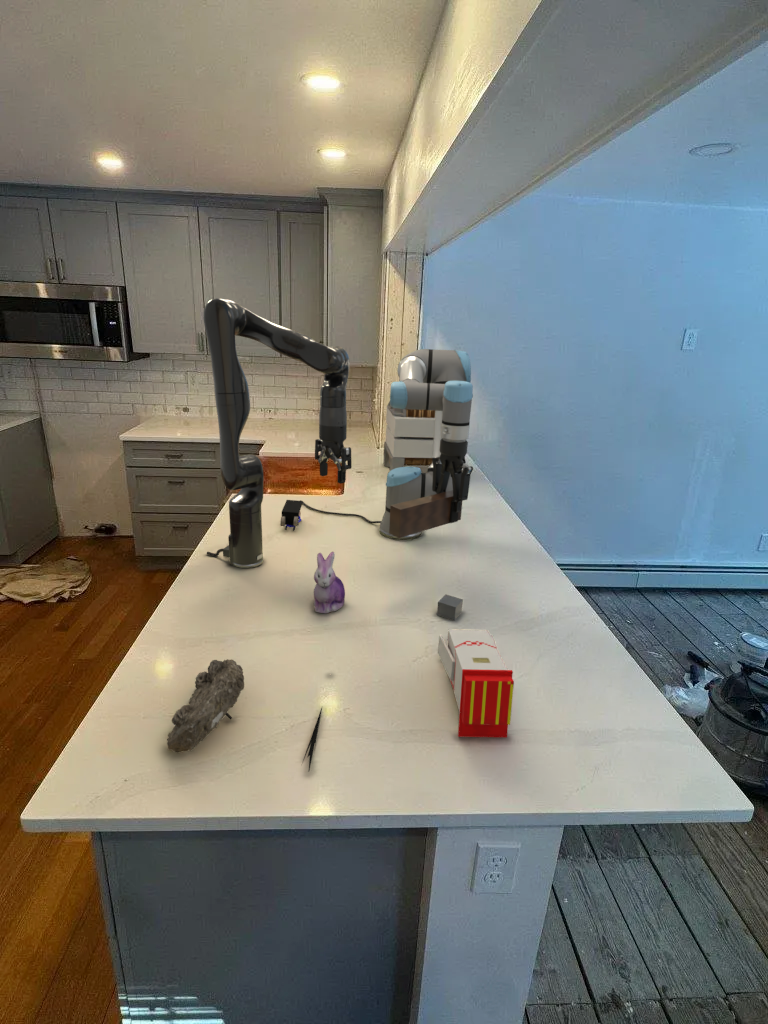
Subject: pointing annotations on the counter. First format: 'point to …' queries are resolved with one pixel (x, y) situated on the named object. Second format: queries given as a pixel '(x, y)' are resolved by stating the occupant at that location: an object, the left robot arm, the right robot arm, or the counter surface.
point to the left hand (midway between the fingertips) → (332, 479)
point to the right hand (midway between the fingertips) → (447, 519)
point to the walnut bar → (421, 514)
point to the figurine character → (291, 514)
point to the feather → (313, 740)
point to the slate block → (449, 607)
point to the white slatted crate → (408, 437)
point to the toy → (478, 682)
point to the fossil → (206, 705)
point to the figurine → (327, 586)
